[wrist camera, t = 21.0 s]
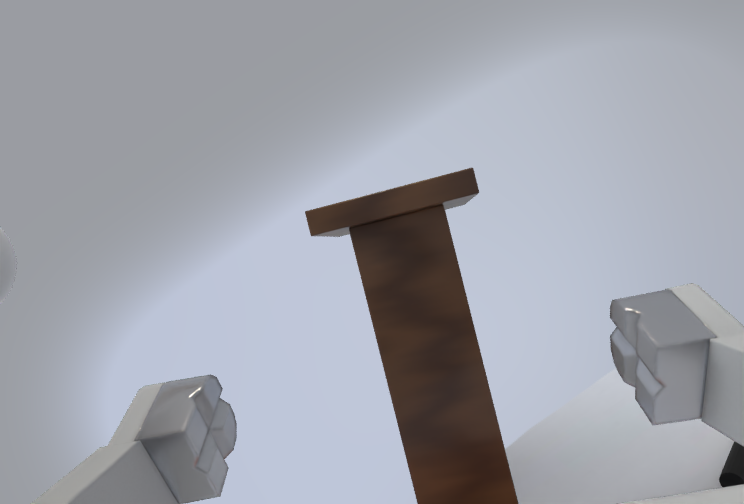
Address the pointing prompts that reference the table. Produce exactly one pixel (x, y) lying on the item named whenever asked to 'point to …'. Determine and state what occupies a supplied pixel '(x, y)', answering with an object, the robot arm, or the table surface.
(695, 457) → the table surface
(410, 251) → the brown wooden pedestal
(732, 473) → the magnifying glass
